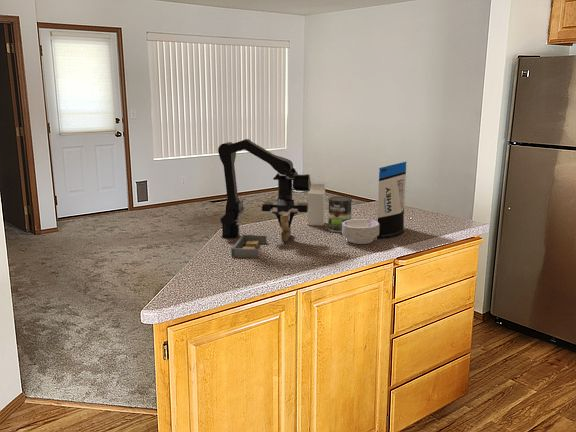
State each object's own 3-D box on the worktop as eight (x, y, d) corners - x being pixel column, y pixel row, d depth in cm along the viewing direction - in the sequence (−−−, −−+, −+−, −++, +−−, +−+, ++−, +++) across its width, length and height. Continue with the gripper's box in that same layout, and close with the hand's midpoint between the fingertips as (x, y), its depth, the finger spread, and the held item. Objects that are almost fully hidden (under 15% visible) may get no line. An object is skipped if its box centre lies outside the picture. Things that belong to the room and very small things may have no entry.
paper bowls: (335, 238, 222) (335, 220, 220) (366, 234, 228) (366, 216, 226) (353, 248, 208) (354, 229, 207) (386, 243, 214) (387, 224, 212)
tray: (231, 256, 199) (231, 248, 198) (242, 241, 218) (242, 234, 217) (257, 257, 198) (257, 249, 197) (266, 242, 217) (266, 235, 216)
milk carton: (322, 226, 243) (323, 185, 238) (307, 225, 244) (307, 184, 240) (325, 222, 249) (325, 182, 245) (310, 221, 251) (310, 182, 246)
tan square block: (245, 248, 210) (245, 243, 210) (247, 245, 214) (247, 240, 214) (256, 248, 210) (256, 244, 209) (258, 245, 214) (258, 240, 213)
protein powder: (412, 229, 236) (416, 162, 229) (387, 241, 218) (390, 169, 211) (393, 226, 242) (396, 160, 235) (366, 237, 223) (369, 166, 216)
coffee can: (347, 233, 230) (348, 201, 227) (324, 231, 234) (325, 199, 231) (353, 227, 239) (354, 197, 236) (332, 225, 243) (332, 195, 240)
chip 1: (241, 255, 202) (241, 250, 201) (243, 251, 206) (243, 246, 206) (252, 255, 201) (252, 250, 201) (255, 251, 206) (254, 246, 205)
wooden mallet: (280, 242, 215) (278, 219, 213) (285, 233, 229) (282, 211, 227) (288, 241, 215) (285, 218, 213) (292, 232, 228) (289, 211, 226)
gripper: (259, 193, 210) (259, 231, 214) (306, 194, 208) (305, 233, 212) (263, 188, 221) (264, 224, 225) (308, 189, 219) (308, 226, 223)
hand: (285, 227), depth 221 cm, fingers closed on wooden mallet, 3 cm apart
